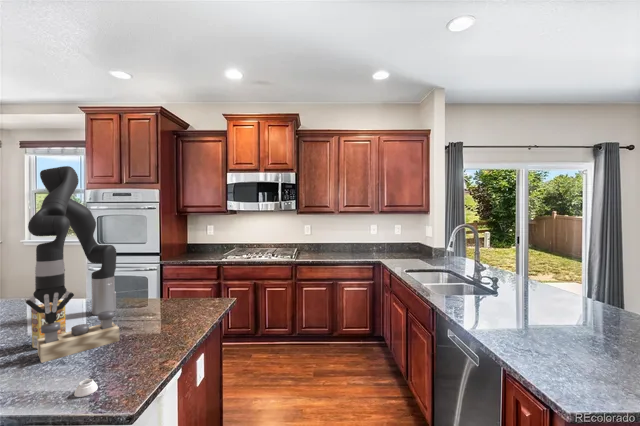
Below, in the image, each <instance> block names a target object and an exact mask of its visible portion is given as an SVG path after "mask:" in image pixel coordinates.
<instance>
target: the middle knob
mask: <svg viewBox="0 0 640 426" xmlns="http://www.w3.org/2000/svg"><path fill="white" fill-rule="evenodd" d="M89 325H90V324H88V323H81V324H78V325H74V326H72V327H71V329H70V331H71V334H72V335H74V336H78V335H82V334H86V332H88V331H89V327H90V326H89Z"/></svg>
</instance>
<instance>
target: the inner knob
mask: <svg viewBox="0 0 640 426" xmlns="http://www.w3.org/2000/svg"><path fill="white" fill-rule="evenodd" d="M97 316H98V317H97V319H98V321H100V324H101V329H102V330H103V329H107V328H111V327H112V322H113V318H115V311H104V312H101V313H99V314H98V315H97Z"/></svg>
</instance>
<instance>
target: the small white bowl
mask: <svg viewBox="0 0 640 426" xmlns="http://www.w3.org/2000/svg"><path fill="white" fill-rule="evenodd" d="M98 387H99V386H98V384H97V383H96V382H95V381H94V379H93V378H87V379H84V380H81V381H80V382H79V383H78V385H77V387H76V389H75V391H74V394H73V395H74V396H75V397H76V398H77V397H78V398H81V397H87V396H89V395H92V394H93V393H95V392H96V391H97V390H98Z"/></svg>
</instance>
